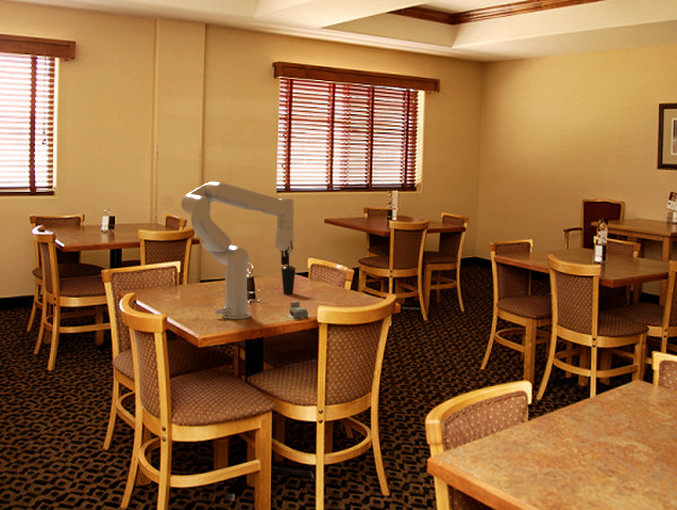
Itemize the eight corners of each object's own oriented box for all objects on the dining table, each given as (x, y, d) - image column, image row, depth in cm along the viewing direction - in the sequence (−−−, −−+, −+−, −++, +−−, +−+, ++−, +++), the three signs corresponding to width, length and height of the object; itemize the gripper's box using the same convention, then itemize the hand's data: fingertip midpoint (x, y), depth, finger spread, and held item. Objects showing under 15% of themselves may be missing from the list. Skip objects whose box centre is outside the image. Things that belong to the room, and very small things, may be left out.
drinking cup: (293, 295, 353) (293, 257, 350) (279, 294, 355) (279, 256, 352) (297, 292, 361) (297, 255, 358) (283, 292, 362) (283, 254, 359)
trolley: (288, 314, 311) (288, 302, 310) (299, 313, 314) (299, 301, 314) (296, 318, 306) (296, 305, 305) (307, 316, 309) (307, 304, 308)
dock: (294, 319, 304) (294, 313, 303) (282, 315, 312) (282, 308, 311) (307, 317, 308) (307, 311, 307) (296, 313, 316) (296, 307, 315)
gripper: (270, 223, 321) (270, 262, 324) (285, 227, 309) (285, 267, 311) (284, 223, 325) (284, 261, 328) (300, 226, 313) (300, 266, 315)
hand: (285, 264), depth 320 cm, fingers closed
